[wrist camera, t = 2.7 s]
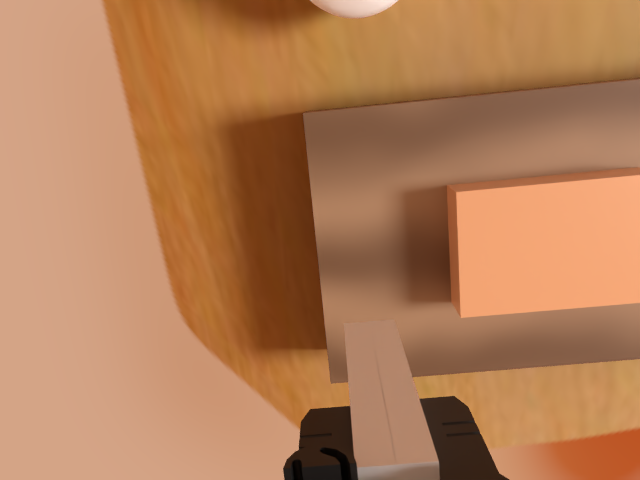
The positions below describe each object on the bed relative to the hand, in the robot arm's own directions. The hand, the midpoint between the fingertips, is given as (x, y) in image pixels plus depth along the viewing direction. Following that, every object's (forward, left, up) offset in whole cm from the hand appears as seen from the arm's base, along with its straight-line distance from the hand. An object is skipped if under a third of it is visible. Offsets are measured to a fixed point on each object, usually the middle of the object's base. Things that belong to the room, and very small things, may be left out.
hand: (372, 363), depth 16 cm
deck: (0, +10, -15) cm, 18 cm away
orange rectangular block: (0, +9, -11) cm, 14 cm away
